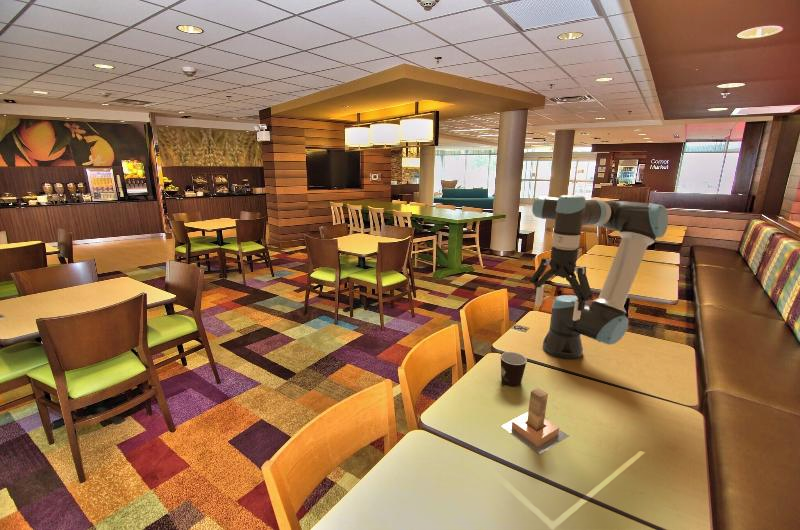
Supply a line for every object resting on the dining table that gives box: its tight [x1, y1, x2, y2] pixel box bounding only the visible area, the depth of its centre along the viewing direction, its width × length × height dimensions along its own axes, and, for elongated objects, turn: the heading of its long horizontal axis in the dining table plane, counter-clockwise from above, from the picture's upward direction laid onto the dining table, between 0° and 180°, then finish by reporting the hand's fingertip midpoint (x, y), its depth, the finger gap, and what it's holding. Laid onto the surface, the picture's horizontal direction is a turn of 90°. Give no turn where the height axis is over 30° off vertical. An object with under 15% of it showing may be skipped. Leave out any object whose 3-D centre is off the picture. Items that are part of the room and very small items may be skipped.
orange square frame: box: [511, 412, 560, 447], centre depth 106 cm, size 9×9×2 cm
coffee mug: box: [500, 351, 528, 388], centre depth 131 cm, size 12×9×10 cm
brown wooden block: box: [527, 387, 549, 432], centre depth 105 cm, size 3×3×12 cm
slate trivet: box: [501, 411, 570, 456], centre depth 107 cm, size 13×13×1 cm
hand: (556, 312), depth 119 cm, fingers open, 13 cm apart
